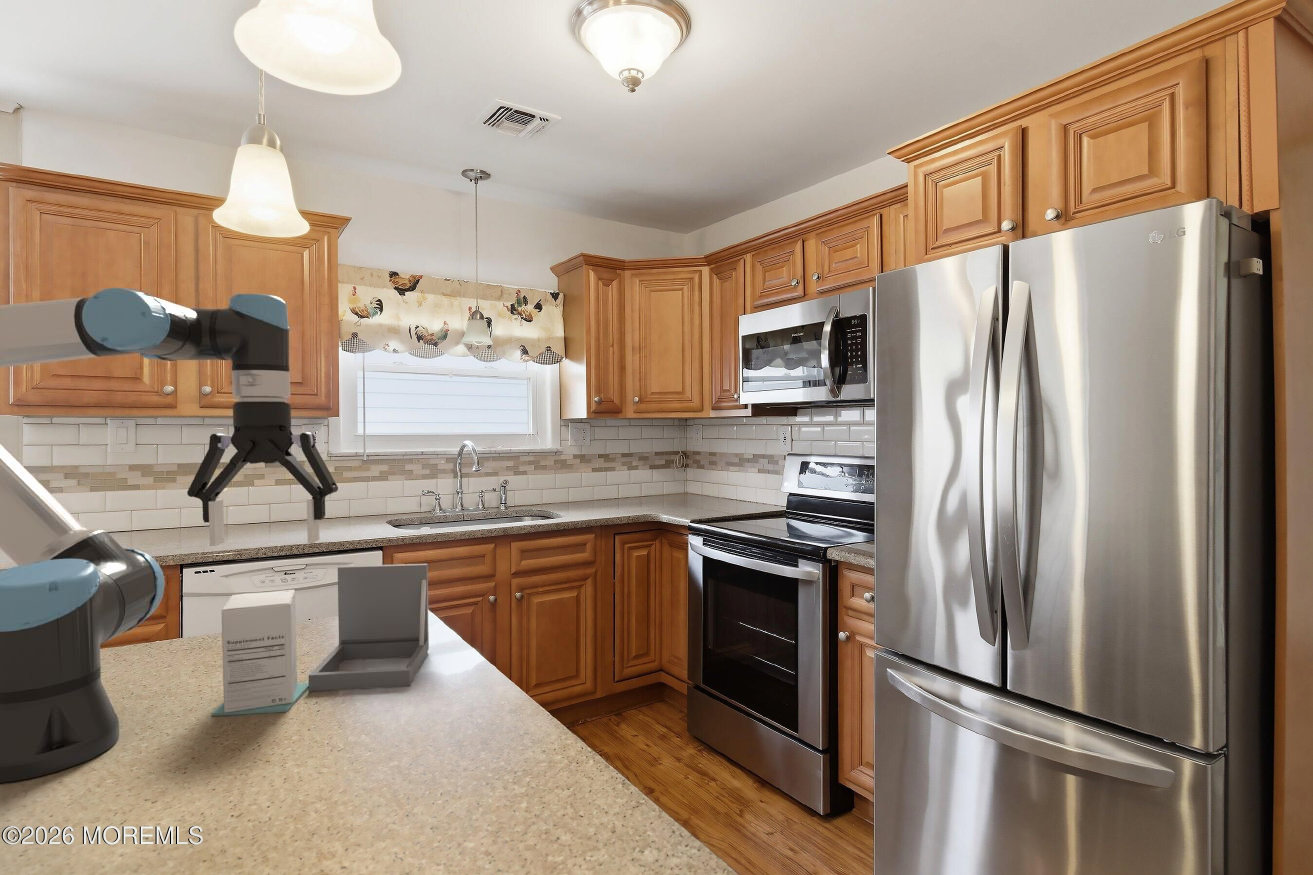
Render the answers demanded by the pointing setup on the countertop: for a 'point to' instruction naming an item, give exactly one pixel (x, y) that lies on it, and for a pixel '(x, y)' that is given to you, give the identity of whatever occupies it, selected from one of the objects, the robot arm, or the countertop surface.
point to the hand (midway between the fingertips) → (265, 543)
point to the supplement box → (259, 650)
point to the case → (378, 626)
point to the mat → (270, 709)
